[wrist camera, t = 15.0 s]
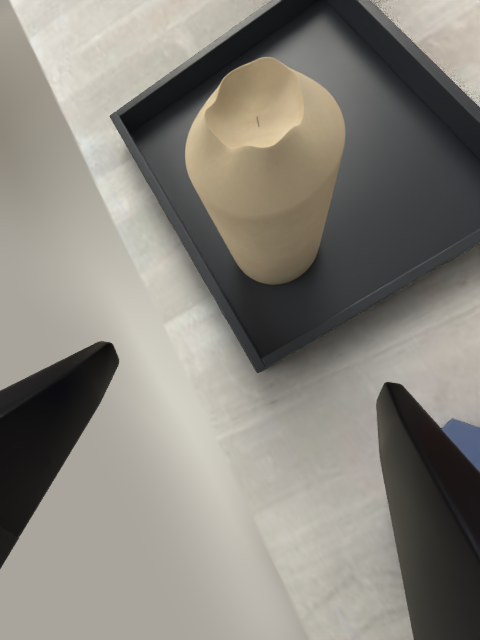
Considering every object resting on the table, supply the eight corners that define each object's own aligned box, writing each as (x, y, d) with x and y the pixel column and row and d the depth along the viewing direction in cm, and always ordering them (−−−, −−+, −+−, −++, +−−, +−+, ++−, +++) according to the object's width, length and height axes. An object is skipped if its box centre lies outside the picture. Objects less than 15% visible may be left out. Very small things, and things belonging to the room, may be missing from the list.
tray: (261, 372, 17) (257, 373, 15) (126, 138, 22) (108, 115, 20) (530, 213, 16) (566, 191, 14) (324, -1, 20) (328, -42, 18)
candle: (325, 278, 17) (372, 165, 7) (237, 291, 18) (171, 206, 8) (312, 197, 18) (339, -4, 8) (229, 213, 19) (162, 50, 9)
